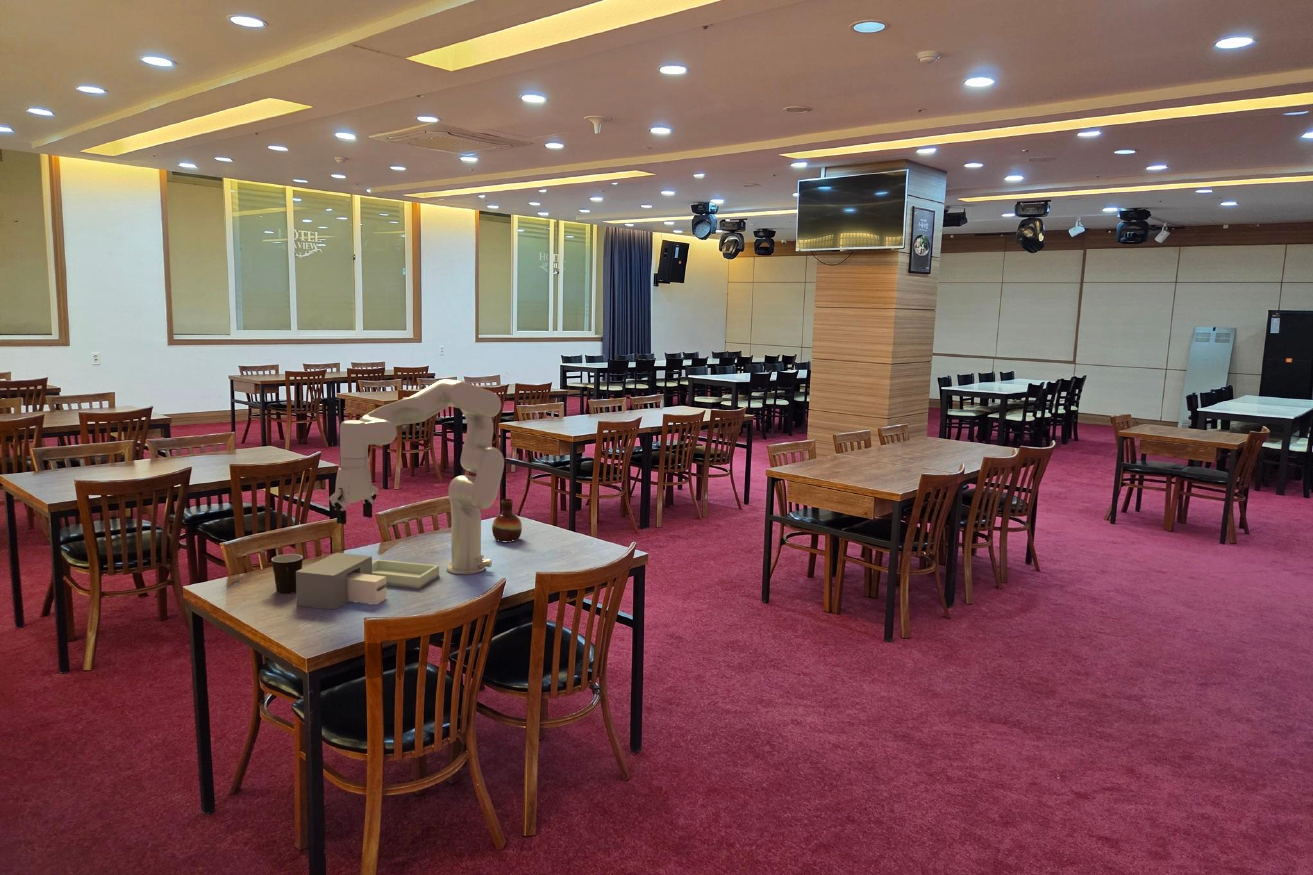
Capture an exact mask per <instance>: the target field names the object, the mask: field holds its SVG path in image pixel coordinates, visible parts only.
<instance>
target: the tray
mask: <svg viewBox="0 0 1313 875" xmlns="http://www.w3.org/2000/svg"><path fill="white" fill-rule="evenodd" d="M372 575H377V576H385V577H386V584H387V585H388V586H392V587H400V588H408V589H409V588H410V589H417V590H418V589H419V590H420V589H422V588H423V587H424V586H426V585H428V584H429V583H431V582H432V581H434V580H435V579H438V578H439V577H440V565H437V564H427V563H417V562H407V561H399V560H398V561H397V560H396V561H395V560H389V559H387V560H386V559H378V558H377V559H375V560H372Z"/></svg>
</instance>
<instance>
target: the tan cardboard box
mask: <svg viewBox="0 0 1313 875" xmlns="http://www.w3.org/2000/svg"><path fill="white" fill-rule="evenodd" d="M388 586H389V585H387V584H386V577H385V576H377V575H369V574H361V573H353V572H350V573H348V574H347V602H350V601H356V602H355V603H358V602H362V603H361V604H365V603H371V604H370V605H373V604H377V605H378V604H380V603H382V602H383V601H385V600H387V587H388ZM384 599H385V600H384ZM381 601H382V602H381Z"/></svg>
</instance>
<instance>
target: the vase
mask: <svg viewBox="0 0 1313 875" xmlns="http://www.w3.org/2000/svg"><path fill="white" fill-rule="evenodd" d="M513 502H514V501H513V499H512V498H503V499H502V500H501V510H502V511H501V513H499V514H498V515H497V516H496V517H495V518H494V520H493V523H492V525H491V531H492V536H493V537H494V539H495V540H496V541H497V540H499V541H512V540H517V539H518V538H520V537H521V534H522V529H523V525H522V522H521V519H520V518H519V517H518V515H516V514H515V513H513ZM518 540H519V539H518ZM518 540H517V541H518ZM499 541H498V542H499Z"/></svg>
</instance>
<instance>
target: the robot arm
mask: <svg viewBox="0 0 1313 875" xmlns="http://www.w3.org/2000/svg"><path fill="white" fill-rule="evenodd" d="M449 407H453V408H457V409H460V411H461V412H462V414H463V415H464V418H465V420H466V423H467V424H466V426H467V427H466V428H467V429H466V436H465V439H464V444H463V447H462V451H461V454H460V455H461V456H460V465H461V467H462V468H463V469H464V470H465V471H468V472H471V473H474V474H476V475H475V476H473V475H472V476H471V475H466V474H462V475H458V476H455V477H454V478H453V479H452V480H451V481H450V483H449V485H448V499H449V503H450V511H451V529H450V530H451V534H450V535H451V562H450V563H448V564H447V565H446V571H447V572H449V573H451V574H456V575H474V574H478V572H479V573H481V572H483V571H484V569H485V570H486V568H492V564H493V563H492V560H491V559H485V557H484V556H485V555H484V554H482V551H481V550H482V513H481V510H486V509H489V508H490V507H492V506H493V505H494V503H495V501H496V499H497V497H498V492H499V489H500V485H501V481H502V477H503V473H504V468H505V459H504V455H503V453H502V451H500V450H499V449H498V448H497V447H494V446H492V441H493V438H494V437H493V436H494V422H493V419H492V418H494V417H496V416H497V415H498V414H499V413H500V412H501V408H502V401H501V399H500V397H499V395H497V393H496V392H493V391H491V390H488V389H485V388H483V387H480V386H477V385H475V384H472V383H468V382H465V381H463V380H458V379H449V378H445V379H444V378H443V379H440V380H438V381H436V382H433V384H431V385H429V386H427V387H425V388H423V389H422V390H420V391H418V392H416V393H415V394H412V395H410V396H409V397H406V398H403V399H399V400H397V401H394V402H390V403H387V404H385V405H382V406H380V407H377V408H375V409H374V410H372V411H370V412H368V413H366V414H365V415H363V416H362V417H360V418H359V419H357V420H356V419H354V420H353V419H349V420H345V421H344V420H343V421H342V422H341V423H340V426H339V439H340V441H339V444H340V445H339V447H340V449H339V450H340V451H339V453H340V454H339V455H340V459H339V460H340V467H339V468H338V469H337V473H336V479H335V490H334V493H333V494H331V495H330V496H329V498H328V499H329V502H330V503H331V506H332V507H333V508H334V510H335V511H336V523H337V524H341V525H346V524H347V510H346V507H347V506H348V505H349V504H352V503H353V504H354V503H356V502H361V501H363V504H362V516H363V517H364V518H369V519H371V518H373V505H374V504H375V500H376V498H377V495H378V493H379V487H377V486H375V485H373V484H372V473H371V469H370V466H369V462H370V461H371V459H370V457H369V451H368V450H369V445H374V446H375V445H376V446H377V445H378V446H384V445H388V444H391V443H392V442H393V441H394V440H395V439H396V437H397V436H398V435H397V434H398V430H397V427H398V426H402V425H410V424H417V423H422V422H425V421H427V420H428V419H430V418H432V417H433V416H435V415H436V414H438V413H441V411H444V410H445V409H447V408H449Z"/></svg>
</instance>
